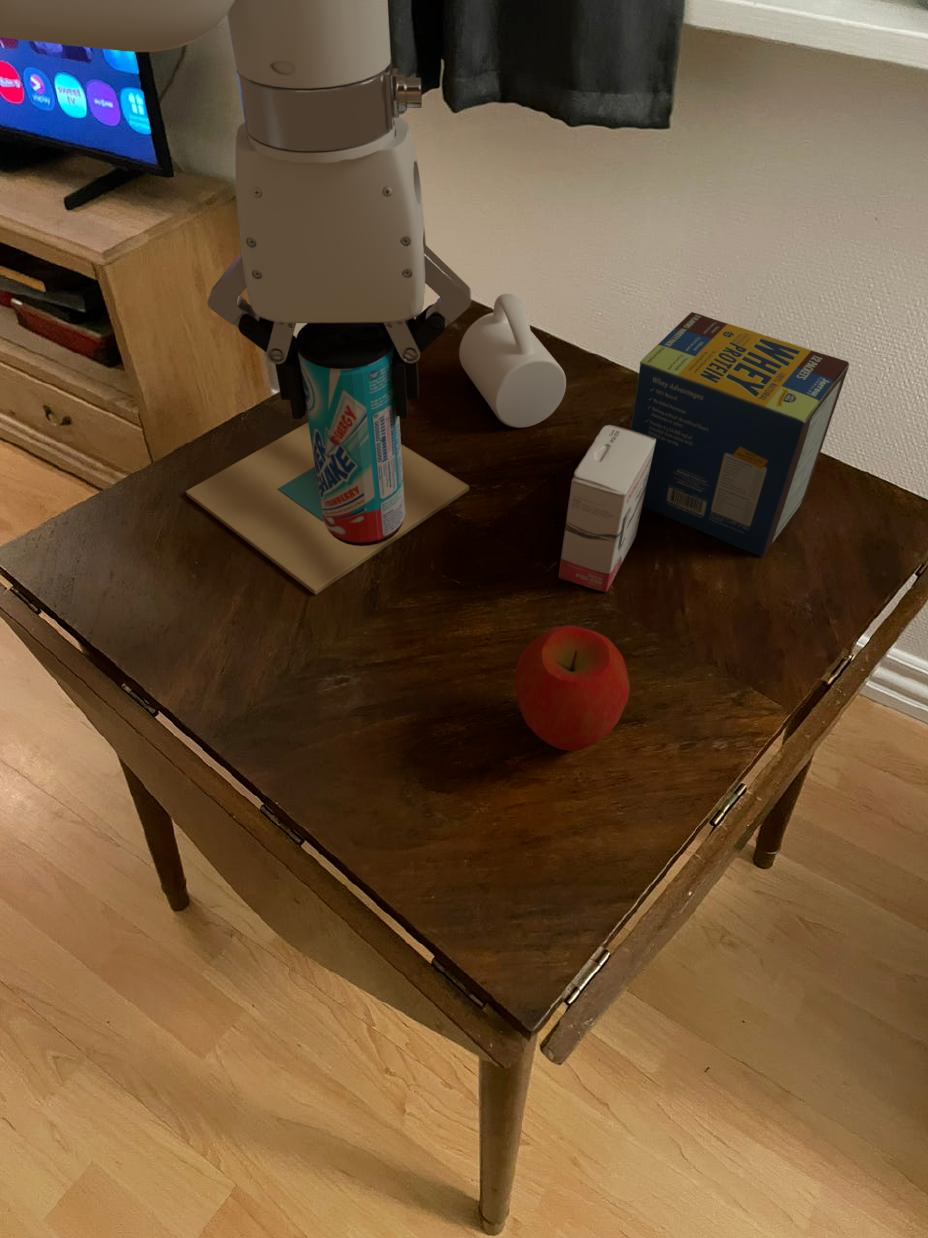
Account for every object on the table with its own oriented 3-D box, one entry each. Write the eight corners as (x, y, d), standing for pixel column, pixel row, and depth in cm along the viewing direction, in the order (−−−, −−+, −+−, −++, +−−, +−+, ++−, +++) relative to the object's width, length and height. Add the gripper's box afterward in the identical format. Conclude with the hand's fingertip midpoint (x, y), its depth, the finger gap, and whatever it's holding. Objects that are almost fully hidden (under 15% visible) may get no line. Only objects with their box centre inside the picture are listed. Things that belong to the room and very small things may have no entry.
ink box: (609, 596, 83) (625, 494, 74) (556, 579, 85) (566, 477, 76) (640, 536, 88) (658, 434, 80) (589, 521, 90) (602, 419, 81)
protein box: (665, 444, 98) (690, 309, 86) (806, 499, 92) (853, 361, 80) (616, 498, 92) (636, 360, 81) (763, 560, 86) (807, 421, 75)
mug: (493, 436, 99) (495, 335, 90) (458, 384, 105) (457, 285, 97) (564, 419, 101) (572, 318, 92) (525, 369, 107) (530, 270, 99)
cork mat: (315, 595, 84) (314, 589, 83) (186, 495, 93) (185, 490, 92) (469, 490, 93) (469, 484, 93) (338, 409, 103) (337, 404, 102)
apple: (490, 722, 74) (491, 632, 66) (576, 677, 77) (587, 586, 69) (552, 802, 69) (562, 715, 61) (642, 751, 72) (662, 662, 64)
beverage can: (319, 502, 69) (290, 317, 58) (397, 490, 70) (384, 306, 59) (330, 556, 65) (301, 369, 54) (413, 542, 66) (402, 356, 55)
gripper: (488, 76, 49) (484, 372, 63) (163, 78, 49) (228, 374, 63) (492, 132, 44) (486, 441, 58) (129, 134, 44) (208, 442, 58)
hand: (352, 403), depth 60 cm, fingers closed on beverage can, 5 cm apart
